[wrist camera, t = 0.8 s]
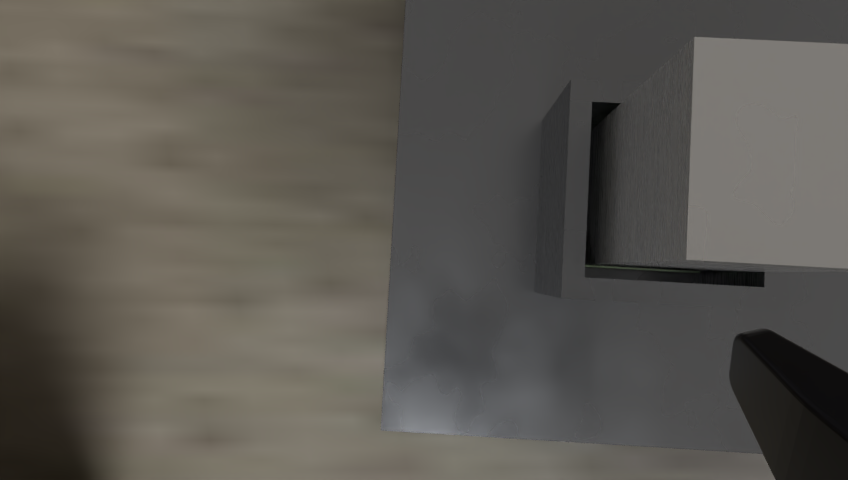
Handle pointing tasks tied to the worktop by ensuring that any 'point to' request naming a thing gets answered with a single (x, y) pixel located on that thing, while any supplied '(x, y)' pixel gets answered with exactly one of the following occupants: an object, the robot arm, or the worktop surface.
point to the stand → (565, 234)
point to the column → (726, 163)
